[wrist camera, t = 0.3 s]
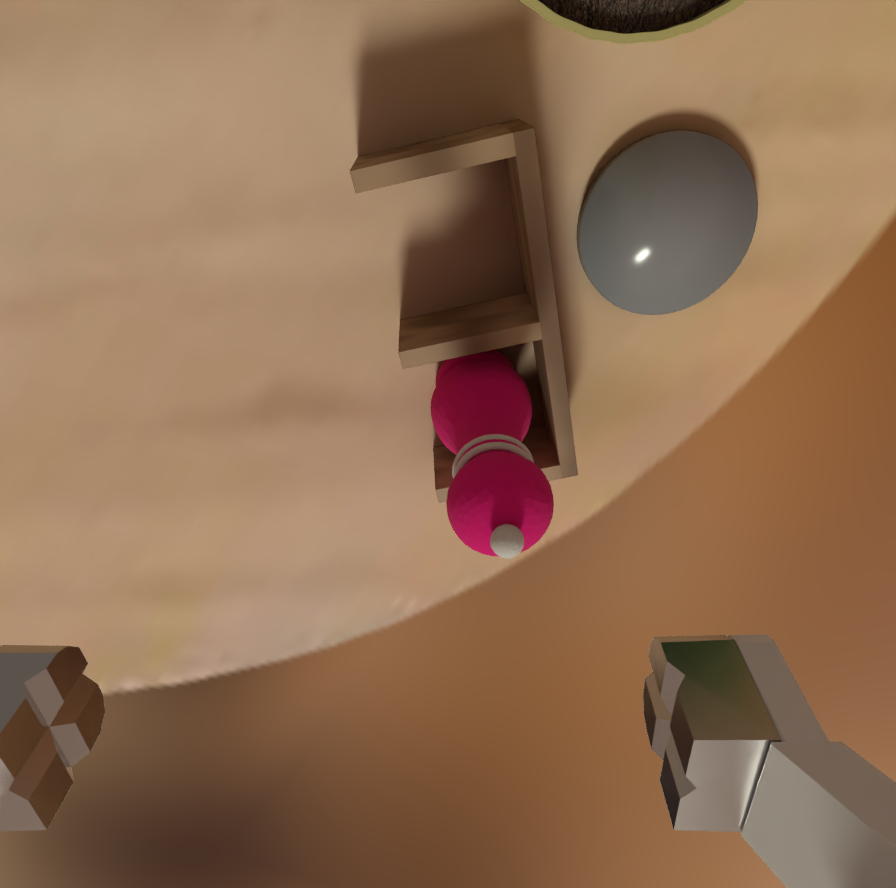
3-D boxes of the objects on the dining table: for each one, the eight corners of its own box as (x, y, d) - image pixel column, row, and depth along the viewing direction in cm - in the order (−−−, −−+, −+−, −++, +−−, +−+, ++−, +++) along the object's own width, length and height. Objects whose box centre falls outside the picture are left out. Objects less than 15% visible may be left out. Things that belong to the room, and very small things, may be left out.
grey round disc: (575, 143, 41) (578, 145, 41) (761, 117, 41) (769, 119, 40) (578, 320, 48) (581, 325, 47) (740, 298, 47) (746, 303, 46)
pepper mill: (415, 406, 51) (417, 583, 34) (451, 324, 47) (473, 476, 30) (498, 434, 52) (540, 617, 35) (538, 358, 49) (606, 519, 32)
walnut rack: (436, 459, 53) (439, 502, 48) (357, 157, 41) (349, 171, 36) (561, 434, 53) (577, 475, 47) (518, 119, 41) (534, 127, 35)
